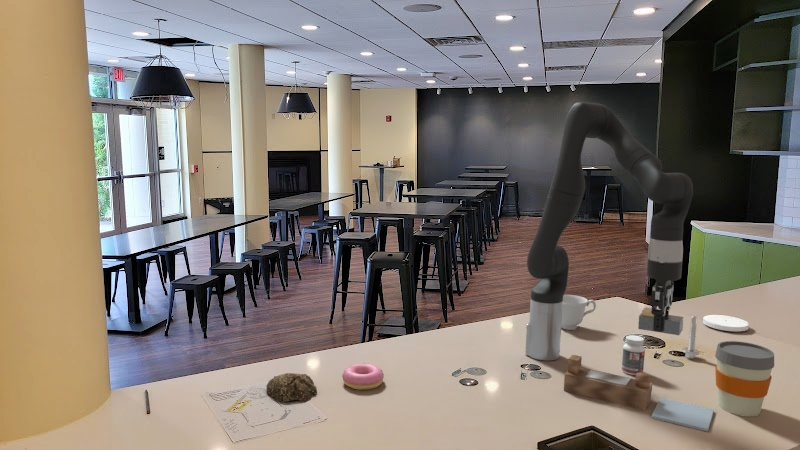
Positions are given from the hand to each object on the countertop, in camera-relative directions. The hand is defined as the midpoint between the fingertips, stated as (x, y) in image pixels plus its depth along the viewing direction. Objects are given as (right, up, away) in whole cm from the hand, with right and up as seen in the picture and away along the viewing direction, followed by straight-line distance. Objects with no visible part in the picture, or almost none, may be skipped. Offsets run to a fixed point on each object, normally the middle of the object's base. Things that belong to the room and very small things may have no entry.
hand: (660, 327), depth 148 cm
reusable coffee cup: (+21, -21, +4) cm, 30 cm away
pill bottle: (+3, -17, +26) cm, 31 cm away
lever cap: (0, 0, 0) cm, 0 cm away
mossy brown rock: (-89, -18, +9) cm, 91 cm away
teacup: (-3, -11, +65) cm, 65 cm away
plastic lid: (+51, -12, +68) cm, 86 cm away
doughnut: (-72, -17, +15) cm, 75 cm away
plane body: (-9, -19, +10) cm, 23 cm away
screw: (+25, -15, +38) cm, 48 cm away
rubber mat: (+5, -21, 0) cm, 21 cm away
